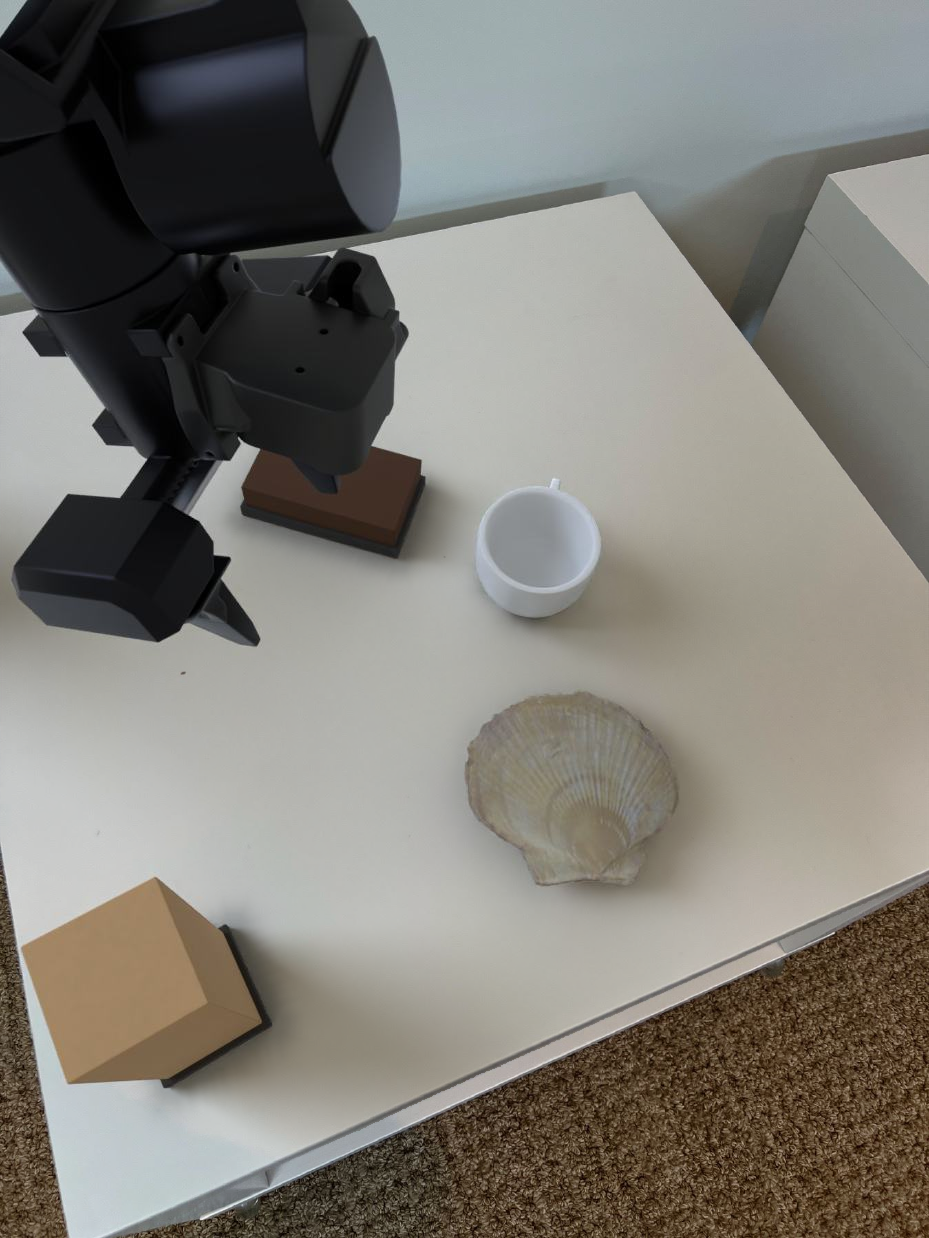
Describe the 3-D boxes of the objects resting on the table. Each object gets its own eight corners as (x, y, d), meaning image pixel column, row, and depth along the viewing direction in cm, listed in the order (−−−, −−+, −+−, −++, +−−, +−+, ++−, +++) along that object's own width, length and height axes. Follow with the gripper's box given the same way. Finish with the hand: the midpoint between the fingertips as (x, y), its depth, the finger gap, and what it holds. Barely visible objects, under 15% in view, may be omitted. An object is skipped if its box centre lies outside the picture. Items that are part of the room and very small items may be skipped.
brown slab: (241, 515, 58) (234, 488, 56) (277, 443, 61) (272, 414, 59) (397, 559, 58) (397, 535, 55) (425, 484, 61) (427, 457, 58)
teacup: (570, 647, 56) (588, 608, 51) (456, 615, 56) (463, 573, 51) (600, 524, 60) (619, 478, 56) (495, 495, 61) (504, 447, 56)
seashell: (550, 664, 55) (558, 644, 52) (700, 786, 52) (716, 771, 50) (427, 796, 51) (429, 781, 48) (583, 937, 48) (594, 930, 45)
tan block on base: (168, 1088, 43) (60, 1099, 28) (127, 982, 45) (8, 943, 31) (273, 1025, 44) (220, 1006, 30) (228, 925, 46) (160, 864, 32)
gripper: (165, 474, 21) (373, 770, 33) (422, 94, 30) (509, 431, 42) (-145, 455, 25) (142, 724, 37) (169, 125, 34) (314, 424, 46)
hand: (292, 562), depth 40 cm, fingers open, 9 cm apart
